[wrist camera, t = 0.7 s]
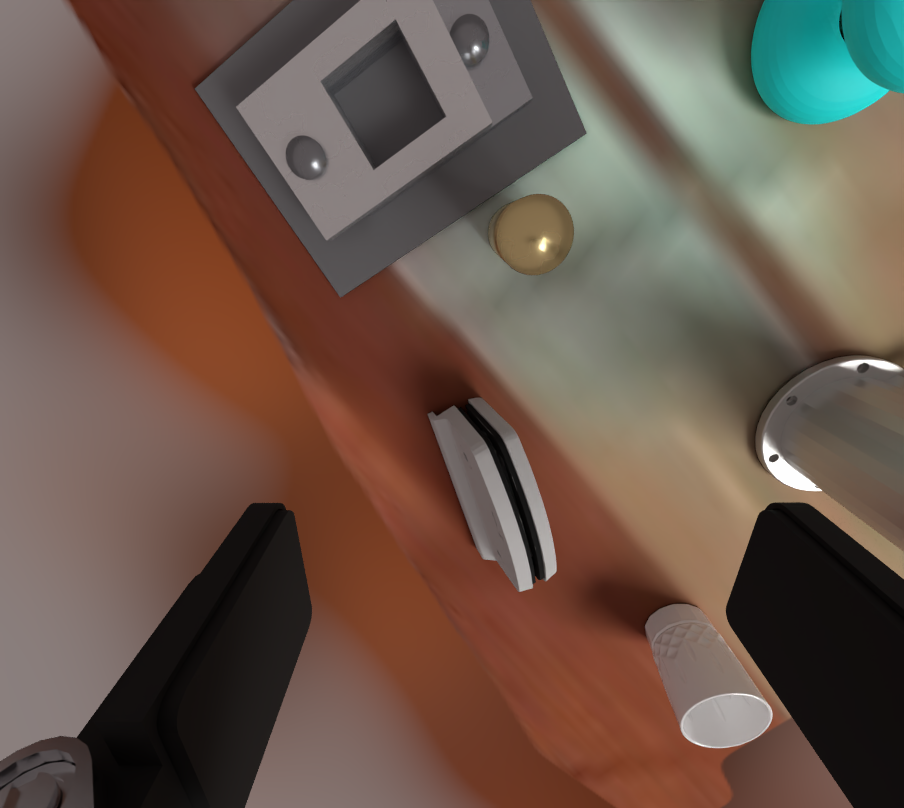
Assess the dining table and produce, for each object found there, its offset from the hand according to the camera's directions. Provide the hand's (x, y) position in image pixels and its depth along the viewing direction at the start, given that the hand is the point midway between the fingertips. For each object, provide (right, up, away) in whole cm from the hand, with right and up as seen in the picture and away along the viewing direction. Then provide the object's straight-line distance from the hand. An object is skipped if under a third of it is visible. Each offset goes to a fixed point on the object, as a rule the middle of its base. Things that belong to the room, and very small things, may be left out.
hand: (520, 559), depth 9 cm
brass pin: (+3, +16, +23) cm, 28 cm away
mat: (-5, +23, +20) cm, 31 cm away
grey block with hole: (-5, +23, +20) cm, 31 cm away
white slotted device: (+2, -4, +32) cm, 32 cm away
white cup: (+23, -21, +39) cm, 50 cm away
